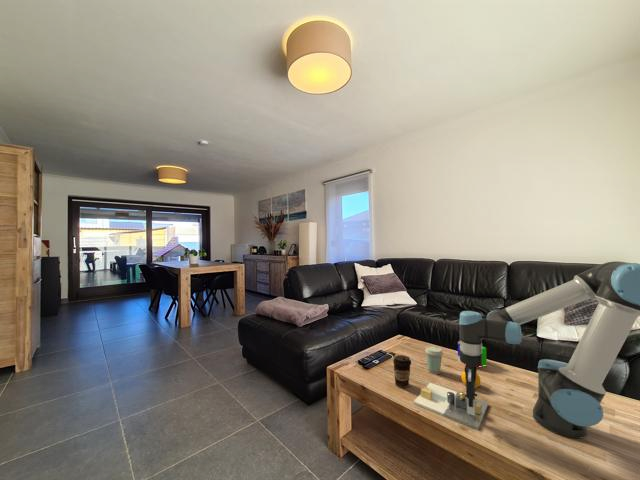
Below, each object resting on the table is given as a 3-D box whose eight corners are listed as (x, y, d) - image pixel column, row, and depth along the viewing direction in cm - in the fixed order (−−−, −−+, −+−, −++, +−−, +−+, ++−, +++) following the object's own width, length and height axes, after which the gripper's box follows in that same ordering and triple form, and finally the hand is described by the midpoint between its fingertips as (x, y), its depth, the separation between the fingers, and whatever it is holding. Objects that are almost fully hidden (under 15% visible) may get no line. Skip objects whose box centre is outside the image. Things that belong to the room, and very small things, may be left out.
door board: (457, 394, 119) (457, 385, 119) (443, 416, 104) (443, 405, 104) (430, 384, 127) (430, 376, 127) (413, 403, 112) (413, 394, 112)
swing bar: (455, 405, 109) (455, 392, 109) (457, 402, 111) (457, 389, 111) (480, 414, 103) (480, 401, 103) (481, 410, 106) (481, 397, 106)
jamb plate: (488, 405, 111) (488, 402, 111) (478, 430, 96) (478, 427, 96) (457, 394, 119) (457, 392, 119) (443, 416, 104) (443, 413, 104)
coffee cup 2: (441, 377, 134) (441, 353, 135) (423, 372, 139) (423, 349, 139) (443, 370, 142) (443, 347, 142) (426, 366, 146) (426, 344, 146)
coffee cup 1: (412, 390, 122) (412, 362, 122) (393, 388, 124) (393, 361, 124) (410, 381, 130) (410, 354, 131) (392, 379, 132) (392, 353, 132)
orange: (484, 390, 122) (484, 374, 122) (467, 390, 122) (467, 374, 122) (474, 381, 130) (474, 366, 130) (458, 381, 130) (458, 366, 130)
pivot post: (455, 404, 112) (455, 393, 112) (453, 407, 110) (453, 396, 110) (448, 401, 114) (448, 391, 114) (446, 404, 112) (446, 393, 112)
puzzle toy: (457, 360, 153) (457, 343, 153) (471, 358, 156) (471, 341, 156) (472, 368, 144) (472, 350, 144) (486, 366, 147) (486, 348, 147)
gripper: (461, 344, 110) (462, 401, 109) (457, 355, 99) (458, 419, 99) (482, 348, 106) (483, 408, 105) (481, 360, 95) (481, 427, 94)
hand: (471, 413), depth 102 cm, fingers closed
